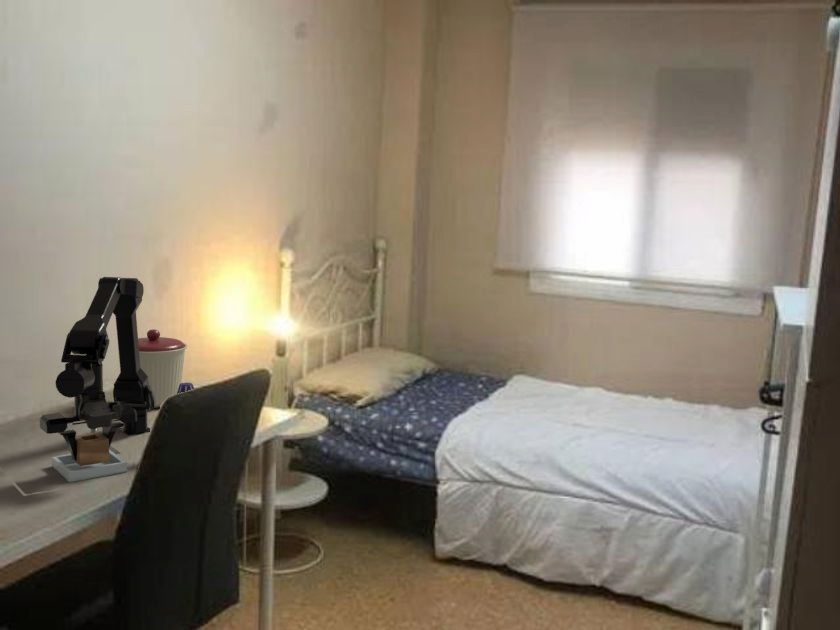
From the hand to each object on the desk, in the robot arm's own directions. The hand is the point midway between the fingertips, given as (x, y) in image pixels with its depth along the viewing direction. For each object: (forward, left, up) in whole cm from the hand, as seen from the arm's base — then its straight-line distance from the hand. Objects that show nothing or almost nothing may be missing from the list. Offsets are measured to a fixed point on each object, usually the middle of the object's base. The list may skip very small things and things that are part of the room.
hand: (90, 457), depth 189 cm
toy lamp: (-1, +22, -3) cm, 22 cm away
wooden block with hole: (-1, 0, -1) cm, 1 cm away
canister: (-49, +33, -3) cm, 60 cm away
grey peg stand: (-13, +5, -3) cm, 14 cm away
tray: (-1, 0, -3) cm, 3 cm away
